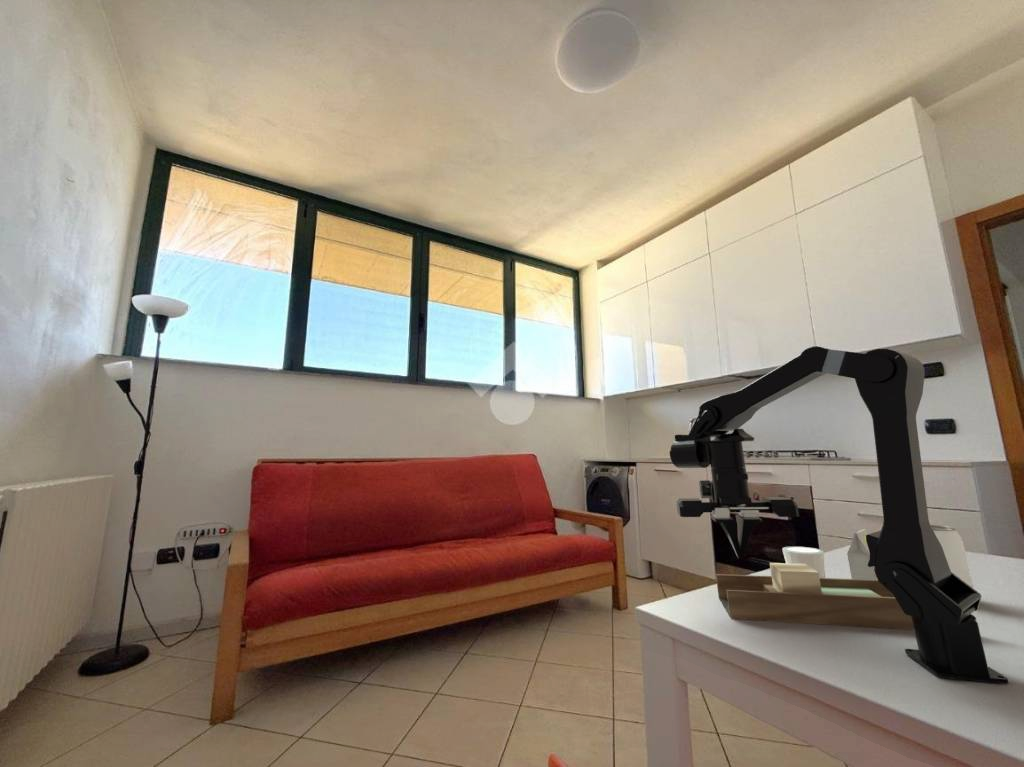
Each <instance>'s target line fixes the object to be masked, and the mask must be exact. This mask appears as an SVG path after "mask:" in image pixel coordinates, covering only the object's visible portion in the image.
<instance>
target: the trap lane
mask: <svg viewBox="0 0 1024 767" xmlns="http://www.w3.org/2000/svg"><path fill="white" fill-rule="evenodd" d="M715 579H716V586H717V595H718V600H719V601H720V602H722V603H721V604H723V605H722V607H723V608H724V610H725V609H726V610H725V611H726V613H727V615H728V614H729V615H728V616H729V618H730V619H732V618H739V619H738V620H751V621H753V620H754V621H765V622H767V621H769V622H780V623H781V622H782V623H785V622H786V623H798V624H799V623H801V624H815V625H830V626H847V627H848V626H849V627H861V628H862V627H864V628H865V627H866V628H881V629H897V630H910V631H912V630H914V626H913V621H912V616H909V615H906V614H905V613H904V612H903V610H902V608H901V607H900V605H899V603H898V602H897V600H896V598H895V597H894V595H893V593H891V592H890V591H888V590H887V589H886V588H885V587H884V586H883V585H882V584H881V583H879V581H878V580H865V579H852V578H833V577H825V578H819V579H820V585H821V591H822V594H812V593H789V592H778V591H777V590H776V589H775V588H774V587H773V583H772V576H771V575H749V574H748V575H746V574H725V573H724V574H719V573H716V574H715Z"/></svg>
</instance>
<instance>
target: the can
mask: <svg viewBox="0 0 1024 767" xmlns="http://www.w3.org/2000/svg"><path fill="white" fill-rule="evenodd" d="M930 526H931V528H932V530H933V531H934V533H935V535H936V537H937V539H938V540H939V542H940V544H941V546H942V548H943V551H944V554H945V557H946V559H947V562H948V565H949V568H950V571H951V572H952V573H953V574H955V575H956V576H957V577H959V578H960V579H961V580H963V581H964V582H965V583H966V584H968V585H969V586H970V587H972V588H973V589H974V590H975V588H974V584H973V579H972V576H971V572H970V571H971V570H970V567H969V562H968V557H967V553H966V549H965V544H964V542H963V538H962V537H961V535H960V534H959V533H958V532H957V528H955V527H953V526H946V525H933V524H930Z"/></svg>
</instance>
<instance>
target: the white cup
mask: <svg viewBox="0 0 1024 767" xmlns="http://www.w3.org/2000/svg"><path fill="white" fill-rule="evenodd" d="M781 551H782V554H783V557H784V561H785V563H793V564H806V565H808V566H809V567H811V568H812V569H814V570H816V571H817V572H818V573H819V578H826V569H825V554H824V552H825V551H824V550H822V549H819V548H815V547H810V546H807V547H806V546H800V545H799V546H798V545H797V546H795V545H794V546H792V545H791V546H785V547H782V550H781Z"/></svg>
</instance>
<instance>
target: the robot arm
mask: <svg viewBox="0 0 1024 767" xmlns="http://www.w3.org/2000/svg"><path fill="white" fill-rule="evenodd" d="M925 370H926V369H925V366H924V364H923V363H922V362H921V361H920V360H919V359H918V358H917V357H914V356H912V355H911V354H908V353H904V352H900V351H896V350H893V349H888V348H876V349H871V350H868V351H867V352H865V353H861V352H854V351H846V350H837V349H831V348H827V347H822V346H817V345H816V346H810V347H808V348H806V349H804V350H803V351H802V352H800V354H799V355H797V356H795V357H793V358H792V359H790V360H788V361H786V362H784V363H783V364H782V365H780V366H778V367H776V368H775V369H773V370H771V371H769V372H767V373H766V374H764V375H763V376H761V377H759V378H758V379H756V380H754V381H753V382H751V383H748V384H747V385H746V386H744V387H743V388H740V389H738V390H736V391H732V392H729V393H725V394H724V393H723V394H721V395H718V396H715V397H712V398H710V399H707V400H706V401H704V402H702V403H701V404H700V406H699V410H698V414H697V417H696V420H694V424H693V425H692V427H691V429H690V430H689V433H688V434H675V435H674V441H673V442H672V444H671V446H670V450H669V456H670V461H671V463H672V464H673V466H675V467H676V468H677V469H704V468H706V469H707V468H708V467H709V466H710V472H711V481H710V480H704V479H703V480H699V483H698V484H699V485H698V486H699V493H700V497H701V499H711V501H707V502H706V501H703V500H701V499H700V498H699V497H694V498H693V497H691V498H690V497H689V498H678V499H677V501H676V510H677V514H678V516H679V517H681V518H700V517H701V516H702V515H703V514H704V513H710V518H711V519H712V521H714V522H715V523H719V525H720V526H721V527H722V529H723V530H724V532H725V534H726V536H727V538H728V540H729V542H730V544H731V546H732V549H733V550H734V553H735V555H736V557H737V558H738V559H744V558H745V556H746V550H747V548H748V544H749V540H750V539H751V538H750V537H751V535H752V533H753V530H754V527H755V526H756V524H757V523H762V521H763V519H762V518H761V517H759V515H760V513H770V514H772V513H773V514H775V515H776V516H777V517H779V518H798V517H800V512H799V507H798V505H797V502H796V501H795V500H794V499H791V498H789V497H788V498H787V497H784V496H771V497H770V496H768V497H767V496H766V497H765V496H764V497H763V496H762V499H761V501H752V498H751V494H750V487H749V481H748V480H749V474H748V473H747V469H746V468H747V467H746V462H745V460H746V459H745V454H744V448H743V447H744V446H743V443H745V442H754V441H755V437H754V436H752V435H751V434H749V433H748V432H746V431H745V430H744V428H741V427H742V426H743V425H745V424H746V423H747V422H749V421H750V420H751V419H752V418H753V417H754V415H755V414H756V412H758V411H759V410H760V409H762V408H763V407H765V406H767V405H768V404H771V403H773V402H774V401H775V402H776V400H779V399H781V398H782V397H783V396H785V395H788V394H789V393H791V392H793V391H795V390H797V389H799V388H801V387H802V386H804V385H806V384H809V383H811V382H812V381H814V380H816V379H818V378H820V377H821V376H823V375H826V374H829V375H833V376H838V377H845V378H849V379H850V378H851V379H854V380H855V383H856V387H857V390H858V393H859V395H860V397H861V399H862V401H863V402H864V405H865V406H866V408H867V410H868V412H869V413H870V416H871V419H872V427H873V436H874V442H875V443H874V445H875V454H876V462H877V463H876V464H877V471H878V480H879V488H880V489H879V490H880V498H881V506H882V514H883V523H882V525H881V526H882V527H881V529H880V530H878V531H874V532H871V533H869V534H868V535H866V542H867V545H868V548H869V552H870V560H869V562H868V567H872V566H874V571H875V575H876V578H877V579H878V581H879V583H881V584H882V585H883V586H884V587H885V588H886V589H887V590H888V591H890V592H891V593H893V595H894V597H895V598H896V600H897V602H898V603H899V605H900V607H901V608H902V610H903V612H904V613H905V614H906V615H909V616H912V621H913V626H914V635H915V640H916V644H917V649H916V648H915V649H914V648H904V652H905V654H906V655H907V656H908V657H910V658H911V659H913V660H914V661H915V662H916V663H919V664H920V665H921V666H922V667H924V668H925V669H927V670H928V671H929V672H931V673H932V674H933V675H935V677H938V678H941V679H952V680H953V679H954V680H964V681H974V682H975V681H976V682H987V683H988V682H989V683H999V684H1009V683H1010V682H1009V678H1008V677H1006V676H1005V675H1003V674H1002V673H1000V672H998V671H997V670H995V669H993V668H991V667H990V666H988V662H987V658H986V653H985V652H986V651H985V649H984V645H983V640H982V636H981V632H980V628H979V623H978V620H977V618H976V616H974V615H973V614H972V613H974V612H977V611H978V609H979V606H980V603H981V600H982V594H981V593H980V592H978V591H977V590H976V589H975V588H974V587H973V588H974V589H973V588H972V587H970V586H969V585H968V584H966V583H965V582H964V581H963V580H961V579H960V578H959V577H957V576H956V575H955V574H953V573H952V572H951V571H950V568H949V565H948V562H947V559H946V557H945V554H944V551H943V548H942V546H941V544H940V542H939V540H938V539H937V537H936V535H935V533H934V531H933V530H932V528H931V526H930V525H931V523H930V520H929V512H928V505H927V496H926V489H925V480H924V474H923V473H924V472H923V465H922V457H921V449H920V448H921V447H920V441H919V433H918V424H917V413H918V409H919V408H920V407H919V406H920V403H921V401H922V397H923V391H924V384H925V383H924V382H925V375H926V371H925ZM731 431H732V432H731ZM729 432H730V433H729ZM711 438H713V439H712V440H711ZM731 513H738V514H735V518H736V520H735V519H734V518H732V517H731ZM735 521H736V522H735ZM736 523H737V524H736ZM736 525H737V527H736Z"/></svg>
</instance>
